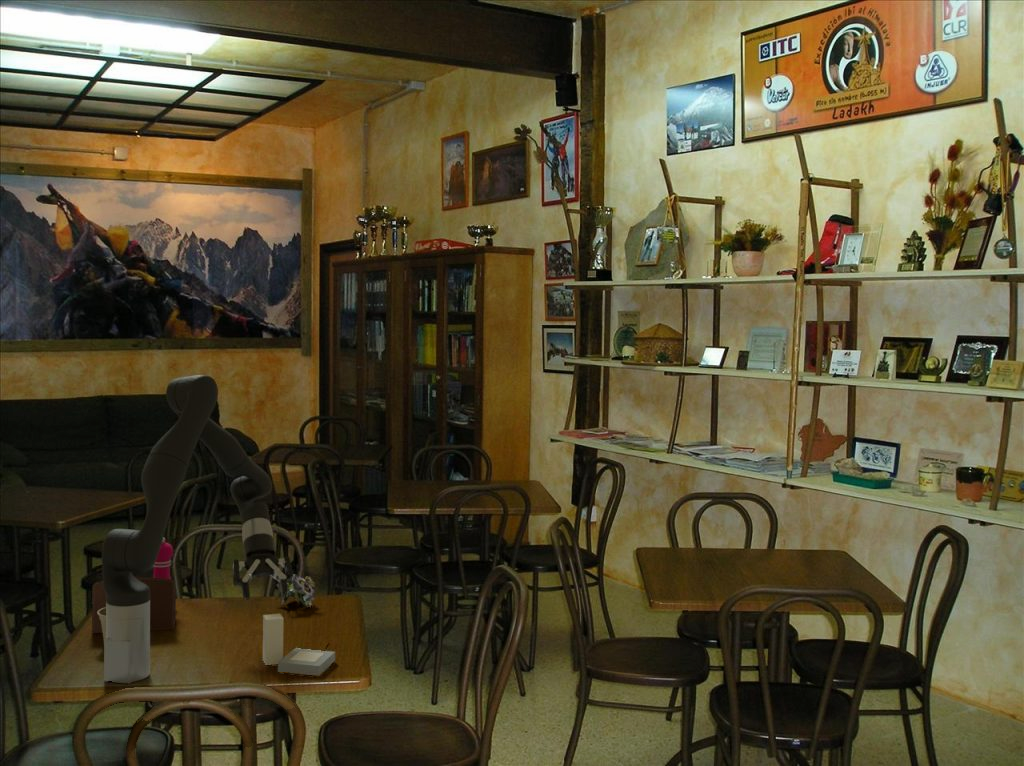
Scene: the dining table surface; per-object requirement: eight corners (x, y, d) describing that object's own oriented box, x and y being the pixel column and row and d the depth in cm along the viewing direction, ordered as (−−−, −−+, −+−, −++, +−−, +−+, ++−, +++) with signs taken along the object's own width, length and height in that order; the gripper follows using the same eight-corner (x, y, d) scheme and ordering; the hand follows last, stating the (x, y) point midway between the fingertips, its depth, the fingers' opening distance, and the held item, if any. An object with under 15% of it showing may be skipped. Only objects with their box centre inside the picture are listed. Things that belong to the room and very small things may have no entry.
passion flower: (308, 626, 283) (314, 599, 276) (269, 620, 281) (274, 592, 274) (314, 595, 292) (320, 568, 284) (276, 588, 290) (281, 561, 283)
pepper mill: (167, 613, 273) (167, 540, 272) (142, 611, 274) (142, 538, 273) (180, 605, 280) (180, 534, 279) (155, 604, 282) (156, 533, 280)
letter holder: (174, 630, 260) (174, 576, 259) (91, 635, 254) (91, 580, 253) (176, 618, 270) (176, 566, 269) (96, 623, 264) (96, 570, 263)
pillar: (282, 664, 237) (283, 618, 236) (265, 666, 235) (266, 619, 235) (279, 658, 241) (280, 613, 240) (262, 660, 239) (263, 615, 238)
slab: (318, 679, 229) (319, 665, 229) (277, 674, 231) (278, 661, 231) (334, 664, 239) (335, 651, 239) (295, 660, 241) (295, 647, 241)
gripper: (231, 534, 250) (237, 591, 240) (288, 530, 255) (297, 586, 246) (227, 550, 255) (234, 607, 245) (284, 546, 260) (293, 602, 251)
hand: (266, 597), depth 245 cm, fingers open, 8 cm apart
